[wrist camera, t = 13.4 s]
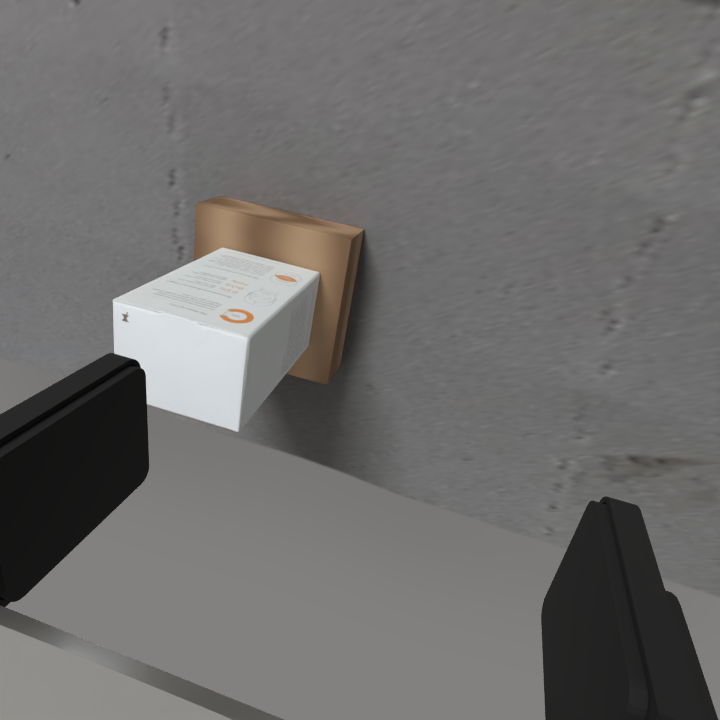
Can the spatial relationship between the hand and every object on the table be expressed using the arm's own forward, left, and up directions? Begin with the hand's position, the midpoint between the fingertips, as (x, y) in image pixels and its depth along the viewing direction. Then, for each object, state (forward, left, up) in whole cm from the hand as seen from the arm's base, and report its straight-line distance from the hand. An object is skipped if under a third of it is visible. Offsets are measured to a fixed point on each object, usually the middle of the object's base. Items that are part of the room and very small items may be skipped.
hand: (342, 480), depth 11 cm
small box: (+12, +8, -28) cm, 32 cm away
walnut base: (+13, +8, -32) cm, 35 cm away
